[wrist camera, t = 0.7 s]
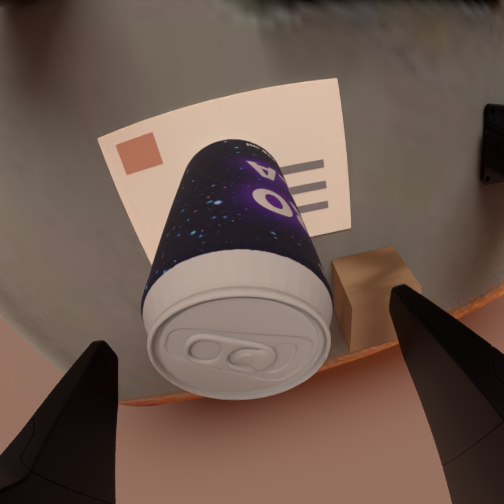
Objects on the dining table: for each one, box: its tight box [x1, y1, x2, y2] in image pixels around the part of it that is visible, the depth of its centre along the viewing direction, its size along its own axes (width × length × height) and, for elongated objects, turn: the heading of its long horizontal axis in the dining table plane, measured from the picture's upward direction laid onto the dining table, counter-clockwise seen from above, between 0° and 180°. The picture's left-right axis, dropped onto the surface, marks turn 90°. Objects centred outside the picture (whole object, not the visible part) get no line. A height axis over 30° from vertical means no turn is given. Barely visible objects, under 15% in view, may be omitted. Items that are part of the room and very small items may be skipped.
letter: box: [97, 78, 351, 265], centre depth 17 cm, size 14×10×1 cm
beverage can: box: [141, 139, 334, 400], centre depth 12 cm, size 6×6×12 cm
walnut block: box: [332, 246, 422, 353], centre depth 21 cm, size 5×5×5 cm
